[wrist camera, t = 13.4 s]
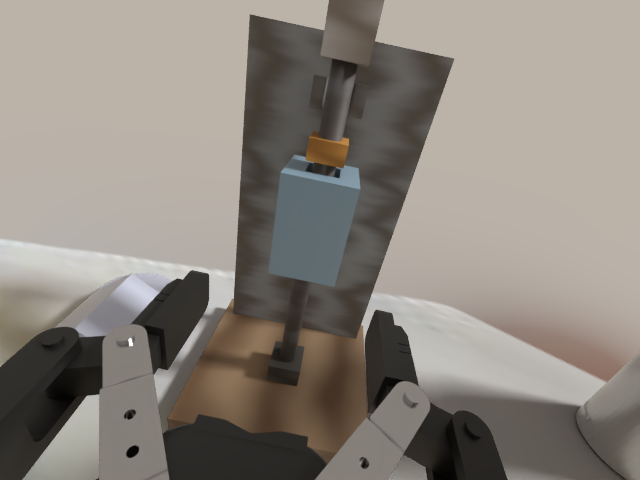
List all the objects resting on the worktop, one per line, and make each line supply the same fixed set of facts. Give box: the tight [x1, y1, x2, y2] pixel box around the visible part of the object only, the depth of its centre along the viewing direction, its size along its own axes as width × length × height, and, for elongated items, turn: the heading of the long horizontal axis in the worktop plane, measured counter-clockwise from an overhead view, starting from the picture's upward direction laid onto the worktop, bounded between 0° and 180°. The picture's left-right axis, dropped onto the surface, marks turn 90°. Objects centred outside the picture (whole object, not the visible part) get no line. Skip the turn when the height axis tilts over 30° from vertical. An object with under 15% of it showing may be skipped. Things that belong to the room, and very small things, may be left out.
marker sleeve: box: [268, 155, 360, 287], centre depth 23 cm, size 5×5×8 cm
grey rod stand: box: [167, 0, 454, 463], centre depth 25 cm, size 18×16×35 cm
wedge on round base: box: [55, 273, 172, 337], centre depth 33 cm, size 9×7×13 cm
